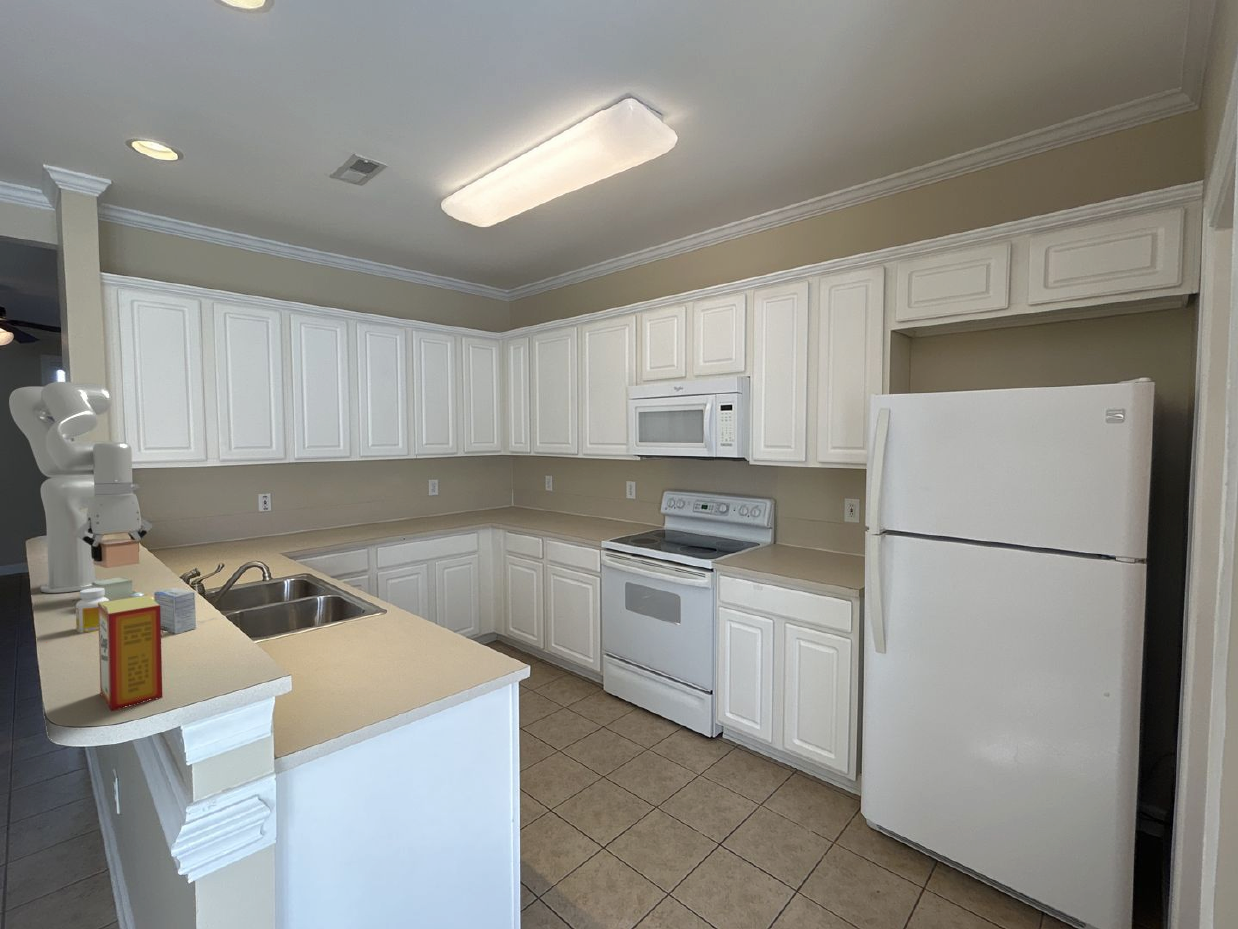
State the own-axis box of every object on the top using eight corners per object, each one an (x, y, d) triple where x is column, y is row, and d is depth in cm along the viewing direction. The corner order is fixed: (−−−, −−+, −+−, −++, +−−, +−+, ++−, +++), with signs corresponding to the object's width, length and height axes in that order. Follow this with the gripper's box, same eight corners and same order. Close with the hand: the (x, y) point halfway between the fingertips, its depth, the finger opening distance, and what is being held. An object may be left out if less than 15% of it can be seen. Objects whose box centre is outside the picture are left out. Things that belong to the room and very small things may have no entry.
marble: (132, 607, 142) (127, 603, 144) (147, 604, 145) (141, 600, 146) (132, 596, 142) (127, 592, 143) (147, 593, 144) (142, 589, 146)
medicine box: (196, 629, 131) (196, 591, 130) (174, 635, 127) (174, 596, 126) (176, 623, 134) (175, 586, 134) (154, 629, 130) (153, 591, 130)
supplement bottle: (116, 630, 129) (115, 587, 129) (92, 638, 124) (91, 593, 123) (94, 629, 130) (93, 586, 129) (69, 637, 124) (68, 592, 124)
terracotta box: (93, 564, 150) (92, 541, 149) (125, 559, 155) (124, 537, 155) (106, 568, 145) (106, 544, 145) (139, 563, 151) (138, 540, 150)
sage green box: (92, 606, 142) (91, 581, 142) (122, 600, 147) (122, 577, 147) (101, 610, 139) (101, 585, 139) (132, 604, 144) (132, 580, 144)
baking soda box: (100, 693, 98) (97, 600, 97) (149, 681, 103) (147, 592, 102) (111, 711, 92) (108, 612, 91) (162, 697, 97) (160, 603, 96)
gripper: (148, 487, 159) (150, 551, 159) (63, 491, 144) (66, 563, 145) (160, 488, 155) (162, 554, 156) (74, 493, 140) (77, 566, 141)
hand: (116, 558), depth 150 cm, fingers closed on terracotta box, 6 cm apart
